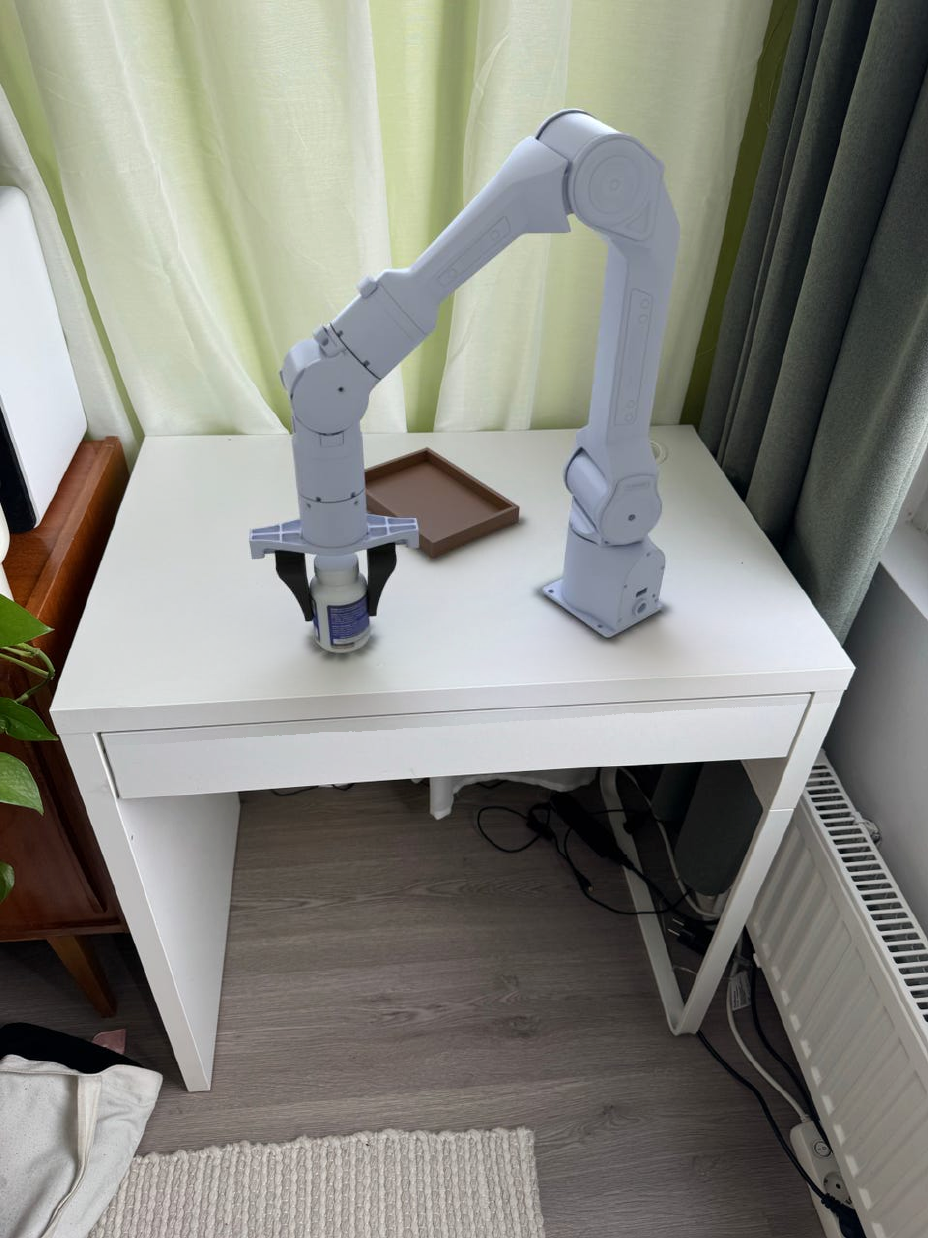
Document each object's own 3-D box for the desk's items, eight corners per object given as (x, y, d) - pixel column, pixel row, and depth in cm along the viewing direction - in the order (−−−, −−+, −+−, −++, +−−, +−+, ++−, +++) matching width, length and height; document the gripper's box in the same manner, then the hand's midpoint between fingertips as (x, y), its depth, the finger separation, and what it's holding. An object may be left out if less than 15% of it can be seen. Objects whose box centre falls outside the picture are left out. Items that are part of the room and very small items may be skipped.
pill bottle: (381, 629, 89) (377, 553, 83) (350, 661, 85) (345, 583, 80) (334, 612, 91) (328, 537, 85) (303, 643, 87) (294, 566, 82)
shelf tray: (518, 521, 105) (519, 506, 104) (432, 558, 99) (433, 543, 98) (427, 461, 115) (427, 446, 114) (344, 491, 109) (343, 476, 108)
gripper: (412, 456, 82) (413, 581, 90) (244, 466, 80) (262, 592, 88) (421, 498, 76) (422, 626, 85) (241, 509, 74) (261, 639, 83)
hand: (341, 612), depth 86 cm, fingers closed on pill bottle, 5 cm apart
